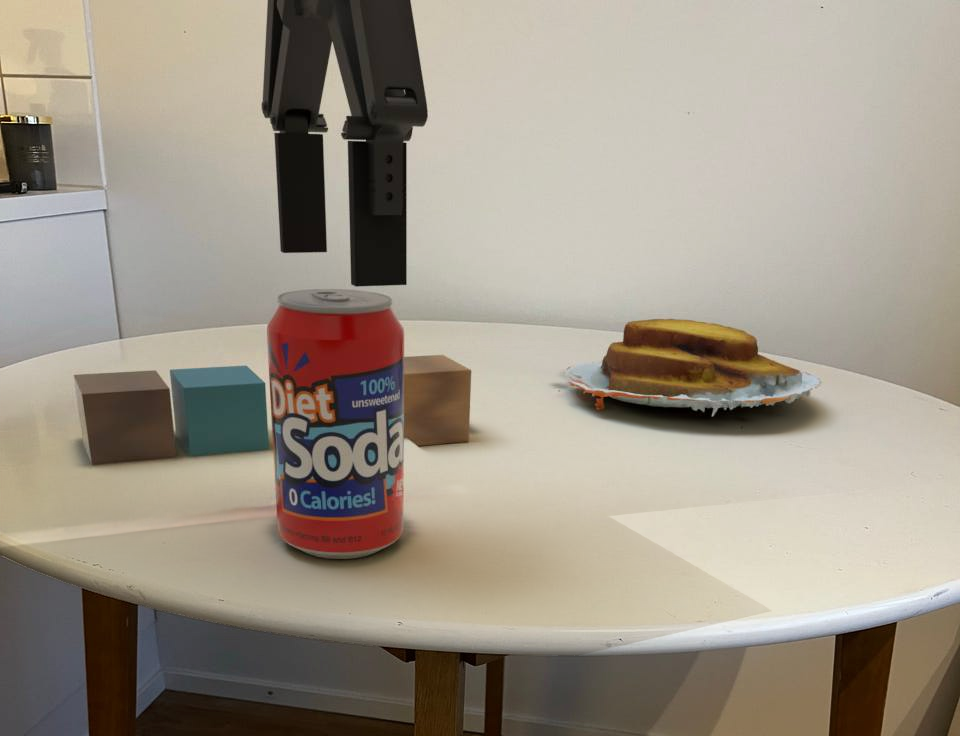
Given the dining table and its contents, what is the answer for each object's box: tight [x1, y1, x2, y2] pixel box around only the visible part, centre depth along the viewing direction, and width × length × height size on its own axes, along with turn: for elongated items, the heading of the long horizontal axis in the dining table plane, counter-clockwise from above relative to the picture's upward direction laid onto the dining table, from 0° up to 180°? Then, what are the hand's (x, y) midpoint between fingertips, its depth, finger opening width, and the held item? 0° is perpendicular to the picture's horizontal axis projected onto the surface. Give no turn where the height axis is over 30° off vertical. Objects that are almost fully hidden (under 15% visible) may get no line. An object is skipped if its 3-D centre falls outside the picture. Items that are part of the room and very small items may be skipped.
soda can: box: [266, 288, 405, 560], centre depth 61 cm, size 8×8×15 cm
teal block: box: [169, 364, 270, 457], centre depth 79 cm, size 6×6×6 cm
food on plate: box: [557, 318, 822, 429], centre depth 100 cm, size 25×25×7 cm
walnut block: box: [73, 369, 177, 466], centre depth 76 cm, size 6×6×6 cm
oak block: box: [404, 354, 472, 447], centre depth 85 cm, size 6×6×6 cm
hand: (337, 267), depth 57 cm, fingers open, 13 cm apart
